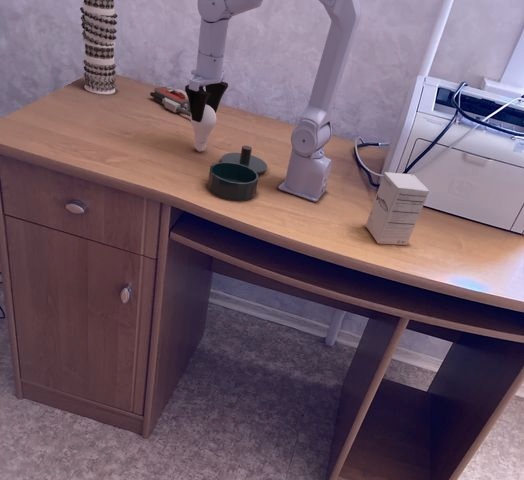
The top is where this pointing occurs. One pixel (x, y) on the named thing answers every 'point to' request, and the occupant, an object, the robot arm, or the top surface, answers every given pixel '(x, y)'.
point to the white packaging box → (396, 208)
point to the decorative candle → (99, 45)
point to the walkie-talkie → (172, 99)
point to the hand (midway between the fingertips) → (203, 117)
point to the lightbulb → (204, 128)
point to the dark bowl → (232, 181)
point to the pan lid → (246, 160)
